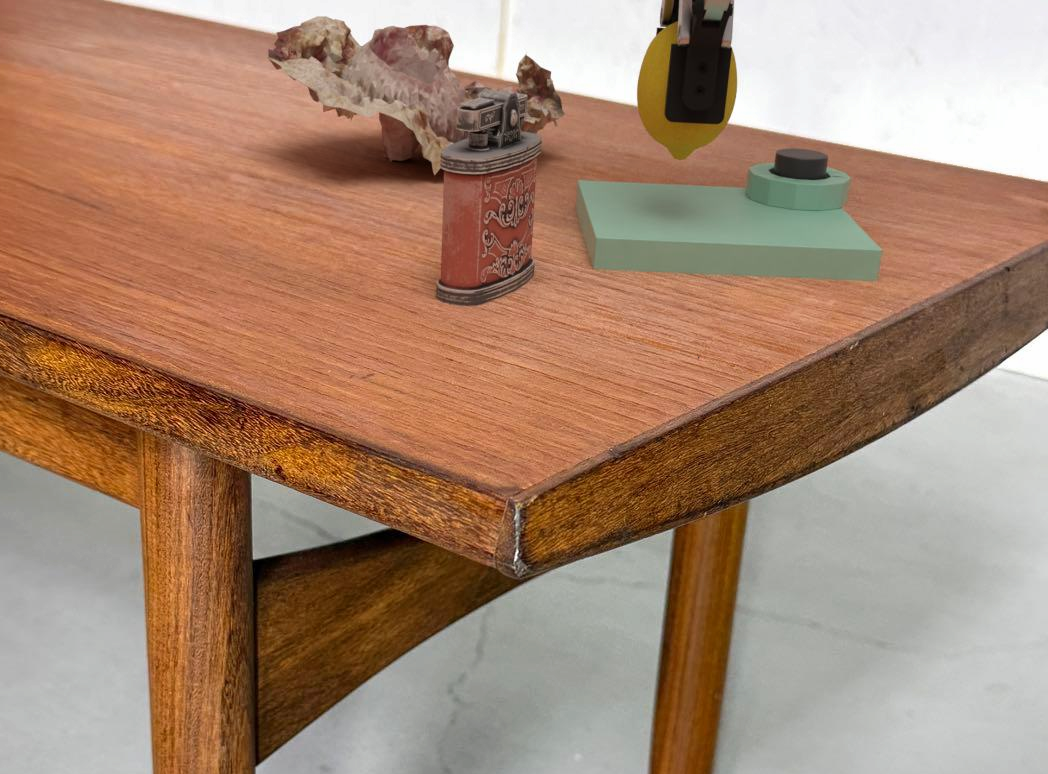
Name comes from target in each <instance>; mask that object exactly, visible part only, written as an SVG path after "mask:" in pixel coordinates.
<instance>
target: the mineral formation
mask: <svg viewBox="0 0 1048 774" xmlns="http://www.w3.org/2000/svg"><path fill="white" fill-rule="evenodd" d="M351 32H352V30H351V28H350V27H348V25H347V24H346V22H345V21H344V20H341V19H336V18H334V19H333V18H331V17H328V16H327V15H324V16H323V15H322V16H321V15H320V16H319V15H318V16H317V15H316V16H315V17H312V18H310V19H308V20H306V21H303V22H301V23H300V25H295V26H292V27H289V28H287V29H285V30H282V31H277V32H275V34H276V35H277V38H276V40H275V42H274V43H273V45H274V46H275V47H274V48H273V49H270V48H268V50H267V52H268V53H267V57H266V58H267V59H268V60H269V62H270V63H271V64H272V65H273V67H274V68H275V69H276V70H277V71H278V70H281V69H282V70H283V72H284V73H285V75H287V76H288V77H289V78H290V79H292V80H293V81H297V82H299V83H301V84H303V85H304V86H306V87H307V89H308V93H309V96H310V98H311V99H312V100H313V101H314V102H316V103H321V104H322V112H323V113H326V112H330V111H333V110H335V112H336V115H337V118H340V117H346V118H347V119H348V120H349V119H350V120H349V121H352V120H353V118H354V116H356V115H359V116H361V117H366V118H370V117H373V116H376V114H377V112H378V120H379V123H380V126H381V145H382V151H381V154H380V156H382V157H385V158H388V160H389V162H393V161H400V162H403V161H406V160H408V159H411V158H413V157H414V154H415V152H416V150H417V149H418V147H419V146H420V147H421V153H422V157H423V158H424V159H426V160H428V161H429V162H430V163H431V167H432V172H433V175H434V176H436V174H437V173H438V172H439V171H440V170H441V168H440V158H441V151H442V150H443V149H445V148H446V147H448V146H450V145H452V144H454V143H457V142H459V141H461V140H464V139H468V138H469V132H470V131H463V130H458V129H457V108H458V107H461V103H463V102H467V101H470V100H474V99H477V98H480V95H481V93H482V92H483V90H487V89H489V90H497V91H504V92H511V93H519V94H525V95H527V110H526V115H525V116H524V123H523V125H522V128H521V131H522V132H529V133H535V134H538V132H539V131H541V130H544V128H545V127H546V125H547V124H549V123H553V126H554V127H558V123H557V121H556V120H559V119H561V118H562V117H563V116H565V115H566V114H565V112H564V110H563V105H562V99H561V97H560V95H559V94H558V93H557V92H556V88H555V85H554V80H552V71H551V70H548V69H546V68H544V67H542V66H540V65H539V63H537V62H536V61H535V60H534V59H533V58H531V57H530V56H528V55H527V54H528V52H526V53H525V55H524V56H523V57H522V58H521V60H519V62H518V65H517V69H516V72H515V76H516V78H517V82H518V88H519V89H518V88H517V87H514V86H510V87H509V86H507V87H503V88H491V87H487V86H485V85H483V84H481V83H479V82H478V81H475V80H474V81H473V82H471V83H469V84H468V85H466V86H464V85H463V84H462V81H461V80H460V79H459V78H458V77H457V75H455V74H454V73H453V72H452V70H451V68H450V66H449V63H450V58H451V55H452V52H453V49H454V47H455V44H454V42H453V40H452V38H451V35H450V33H449V31H447V30H445V29H444V27H443V28H442V27H440V26H438V25H428V24H418V25H417V24H416V25H408V26H405V27H400V26H395V25H390V26H386V27H384V28H378V29H375V30H374V32H373V34H372V38H371V39H370V40H369V41H367V42H366V43H365V44H363V45H362V46H361V45H360V43H359V42H358V41H357V40H356V39H355V38H354V36H353V35H352V33H351Z"/></svg>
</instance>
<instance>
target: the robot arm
mask: <svg viewBox="0 0 1048 774" xmlns="http://www.w3.org/2000/svg"><path fill="white" fill-rule="evenodd" d="M734 10H735V0H661V5H660V12H659V27H656V31H655V36H656V35H657V34H658V33H659V32H660V31H662V30H663V29H664V28H666V27H667V26H669V25H670V24H673V23H675V22H677V21H678V36H677V43H678V44H671V51H670V61H669V71H668V82H667V92H666V102H665V112H664V113H665V117H666V119H667V120H668V121H670V122H679V123H699V124H720V123H721V122H722V121H723V120H724V115H725V106H726V98H727V89H728V80H729V72H730V63H731V54H732V50H733V47H732V42H733V32H734V31H733V29H734V13H735V12H734ZM691 16H692V17H691ZM730 46H731V47H730Z"/></svg>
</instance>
